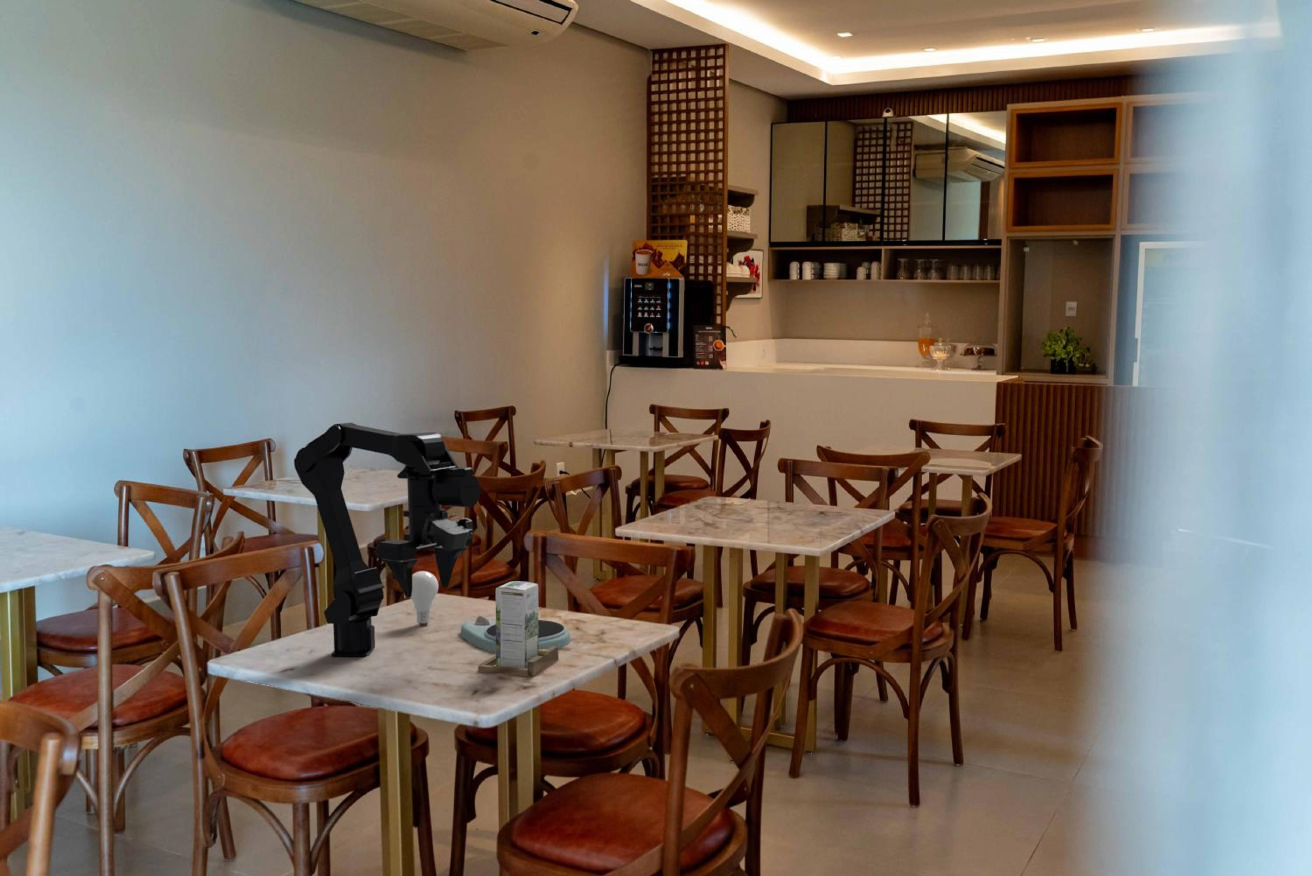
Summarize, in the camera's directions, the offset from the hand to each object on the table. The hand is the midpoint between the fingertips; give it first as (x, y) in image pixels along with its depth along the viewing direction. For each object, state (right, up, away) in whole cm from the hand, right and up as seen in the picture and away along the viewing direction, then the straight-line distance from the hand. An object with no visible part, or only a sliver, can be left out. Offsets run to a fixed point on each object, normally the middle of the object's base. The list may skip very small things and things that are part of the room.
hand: (427, 592), depth 200 cm
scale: (+13, -12, +18) cm, 25 cm away
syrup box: (+16, -13, 0) cm, 21 cm away
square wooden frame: (+16, -13, -1) cm, 21 cm away
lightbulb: (-7, -11, +30) cm, 33 cm away
